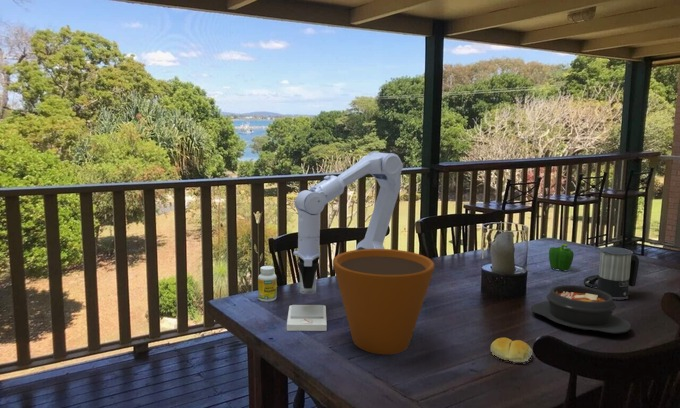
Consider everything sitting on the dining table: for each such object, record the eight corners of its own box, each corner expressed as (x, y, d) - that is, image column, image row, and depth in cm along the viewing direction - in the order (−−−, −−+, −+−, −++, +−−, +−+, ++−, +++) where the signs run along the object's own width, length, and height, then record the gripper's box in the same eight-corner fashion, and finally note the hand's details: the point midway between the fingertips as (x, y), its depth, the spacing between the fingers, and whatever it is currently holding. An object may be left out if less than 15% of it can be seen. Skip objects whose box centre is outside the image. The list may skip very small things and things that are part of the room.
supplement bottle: (271, 294, 160) (271, 264, 158) (279, 300, 155) (279, 268, 154) (255, 297, 157) (255, 266, 155) (263, 303, 152) (262, 270, 151)
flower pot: (448, 356, 120) (453, 271, 117) (348, 368, 113) (350, 278, 110) (406, 318, 142) (409, 246, 139) (320, 326, 135) (321, 251, 132)
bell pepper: (545, 266, 199) (547, 240, 197) (568, 267, 198) (570, 241, 196) (550, 272, 191) (553, 245, 189) (574, 273, 190) (577, 246, 188)
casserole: (518, 319, 144) (521, 289, 143) (546, 303, 157) (549, 276, 156) (617, 347, 127) (621, 314, 126) (639, 327, 140) (643, 296, 139)
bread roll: (495, 345, 127) (496, 330, 126) (534, 355, 122) (535, 338, 121) (484, 358, 120) (486, 341, 119) (525, 368, 115) (526, 351, 114)
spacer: (316, 289, 145) (316, 267, 144) (316, 294, 140) (316, 272, 139) (300, 288, 144) (300, 267, 143) (299, 294, 140) (299, 272, 139)
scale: (325, 311, 147) (325, 303, 146) (326, 330, 133) (326, 322, 133) (289, 310, 146) (289, 303, 146) (286, 330, 132) (286, 322, 132)
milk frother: (620, 303, 159) (625, 255, 156) (569, 290, 170) (573, 245, 168) (639, 294, 168) (644, 248, 166) (589, 282, 180) (593, 239, 177)
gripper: (295, 230, 147) (294, 277, 149) (292, 241, 133) (291, 293, 135) (320, 230, 147) (319, 277, 149) (320, 242, 133) (319, 294, 135)
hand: (308, 285), depth 142 cm, fingers closed on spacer, 4 cm apart
